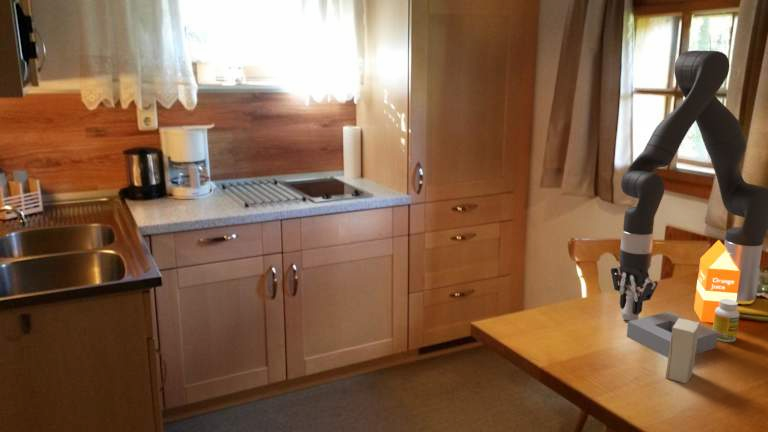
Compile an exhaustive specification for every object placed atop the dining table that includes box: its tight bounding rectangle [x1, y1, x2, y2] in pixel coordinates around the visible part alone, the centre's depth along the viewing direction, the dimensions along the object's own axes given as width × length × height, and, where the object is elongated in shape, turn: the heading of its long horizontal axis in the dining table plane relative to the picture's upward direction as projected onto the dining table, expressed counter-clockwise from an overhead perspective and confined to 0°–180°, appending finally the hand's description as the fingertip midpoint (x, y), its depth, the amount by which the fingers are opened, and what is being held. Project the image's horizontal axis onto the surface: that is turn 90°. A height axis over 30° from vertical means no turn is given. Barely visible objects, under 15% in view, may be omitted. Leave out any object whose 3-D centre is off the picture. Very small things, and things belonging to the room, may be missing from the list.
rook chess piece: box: [620, 288, 640, 321], centre depth 165 cm, size 4×4×8 cm
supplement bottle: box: [711, 299, 740, 343], centre depth 154 cm, size 5×5×10 cm
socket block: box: [626, 310, 718, 358], centre depth 153 cm, size 14×14×4 cm
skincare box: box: [665, 317, 701, 385], centre depth 136 cm, size 6×4×12 cm
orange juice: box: [693, 239, 740, 323], centre depth 166 cm, size 8×9×20 cm
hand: (630, 310), depth 165 cm, fingers closed on rook chess piece, 3 cm apart
